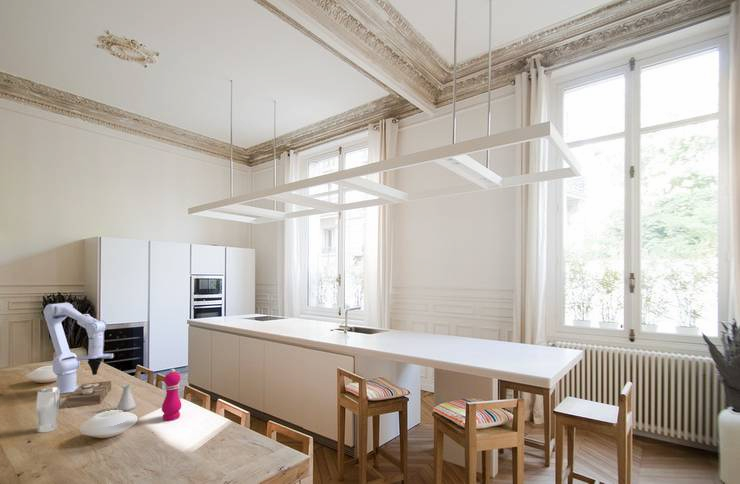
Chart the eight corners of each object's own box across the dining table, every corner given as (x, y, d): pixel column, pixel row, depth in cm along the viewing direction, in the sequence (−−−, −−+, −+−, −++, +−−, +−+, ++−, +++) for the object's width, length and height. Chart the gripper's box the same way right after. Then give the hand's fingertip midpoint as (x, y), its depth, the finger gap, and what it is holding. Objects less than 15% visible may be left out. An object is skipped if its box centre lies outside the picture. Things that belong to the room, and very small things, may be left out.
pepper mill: (172, 422, 152) (174, 371, 153) (157, 420, 154) (158, 370, 155) (185, 415, 159) (186, 366, 160) (170, 413, 161) (171, 366, 162)
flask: (139, 405, 170) (140, 383, 170) (127, 412, 162) (128, 388, 163) (124, 405, 170) (125, 382, 171) (112, 411, 163) (113, 388, 164)
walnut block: (82, 392, 187) (82, 384, 187) (111, 389, 192) (111, 381, 192) (67, 408, 167) (67, 398, 167) (99, 404, 172) (100, 395, 172)
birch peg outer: (82, 393, 175) (83, 384, 175) (94, 391, 177) (94, 383, 177) (80, 396, 171) (80, 387, 171) (91, 394, 173) (92, 386, 173)
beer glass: (37, 435, 141) (39, 394, 142) (32, 430, 145) (34, 390, 146) (61, 428, 146) (62, 389, 147) (55, 423, 151) (57, 385, 151)
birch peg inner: (89, 392, 186) (90, 384, 186) (100, 390, 188) (100, 382, 188) (87, 394, 182) (87, 386, 182) (98, 393, 184) (98, 385, 184)
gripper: (75, 349, 179) (73, 378, 179) (111, 346, 185) (110, 374, 184) (79, 346, 186) (78, 374, 185) (114, 343, 192) (113, 371, 191)
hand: (94, 374), depth 185 cm, fingers closed
